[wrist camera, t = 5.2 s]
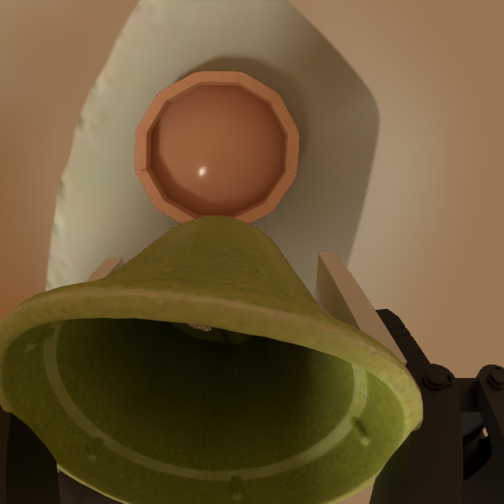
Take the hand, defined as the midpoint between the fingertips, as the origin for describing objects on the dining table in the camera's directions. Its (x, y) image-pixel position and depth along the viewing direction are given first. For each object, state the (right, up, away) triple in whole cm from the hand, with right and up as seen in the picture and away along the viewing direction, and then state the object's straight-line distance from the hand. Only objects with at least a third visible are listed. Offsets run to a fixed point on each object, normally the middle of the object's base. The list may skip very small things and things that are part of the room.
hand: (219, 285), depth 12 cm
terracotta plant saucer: (-2, +11, +13) cm, 17 cm away
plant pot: (0, 0, 0) cm, 1 cm away
